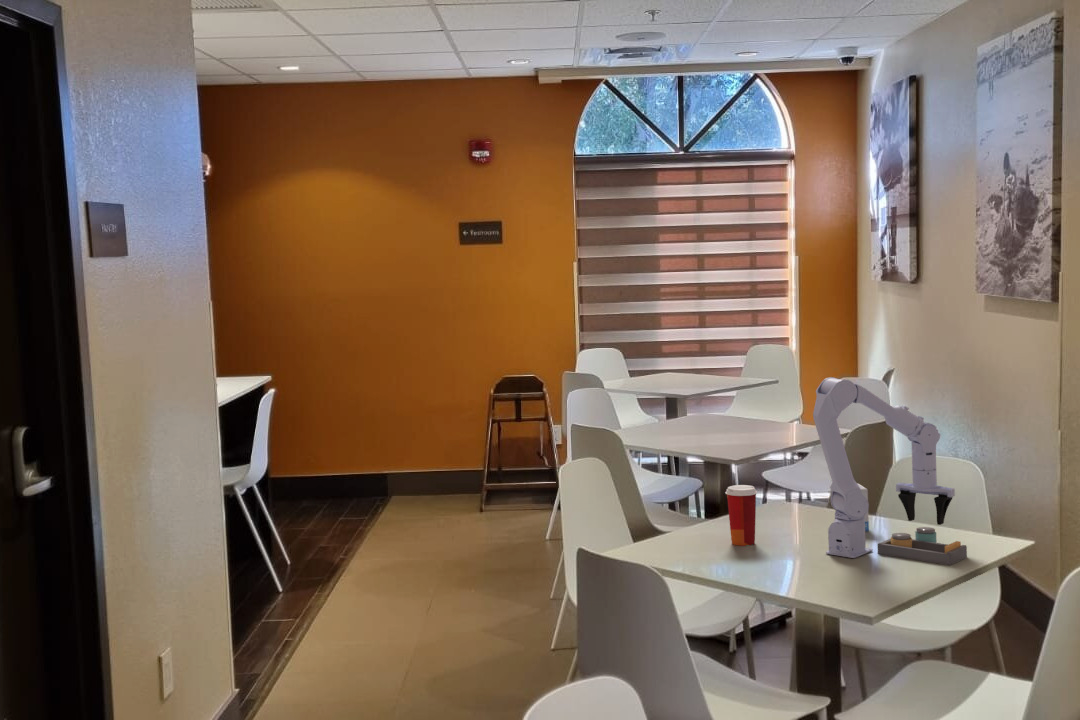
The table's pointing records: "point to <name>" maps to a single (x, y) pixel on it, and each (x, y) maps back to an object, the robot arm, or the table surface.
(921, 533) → the teal jar
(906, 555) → the grey rectangular tray
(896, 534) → the amber jar
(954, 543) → the plate
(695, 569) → the table surface
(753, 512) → the coffee cup
